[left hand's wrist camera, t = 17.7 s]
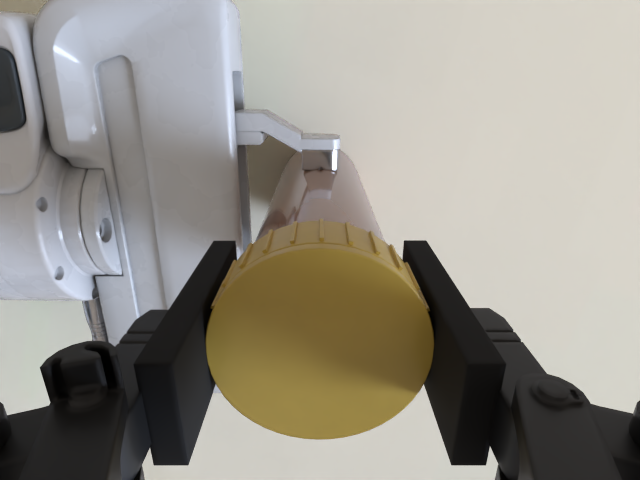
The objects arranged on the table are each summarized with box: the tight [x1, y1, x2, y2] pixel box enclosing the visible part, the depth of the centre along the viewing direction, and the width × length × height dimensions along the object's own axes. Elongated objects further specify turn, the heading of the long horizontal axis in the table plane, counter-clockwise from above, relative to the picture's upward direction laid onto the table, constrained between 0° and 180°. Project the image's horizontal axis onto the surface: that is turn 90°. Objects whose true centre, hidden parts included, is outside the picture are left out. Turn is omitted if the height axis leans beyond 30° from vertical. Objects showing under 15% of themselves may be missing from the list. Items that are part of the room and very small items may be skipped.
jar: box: [255, 150, 385, 242], centre depth 19 cm, size 5×5×17 cm
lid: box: [205, 219, 434, 439], centre depth 11 cm, size 6×6×2 cm
